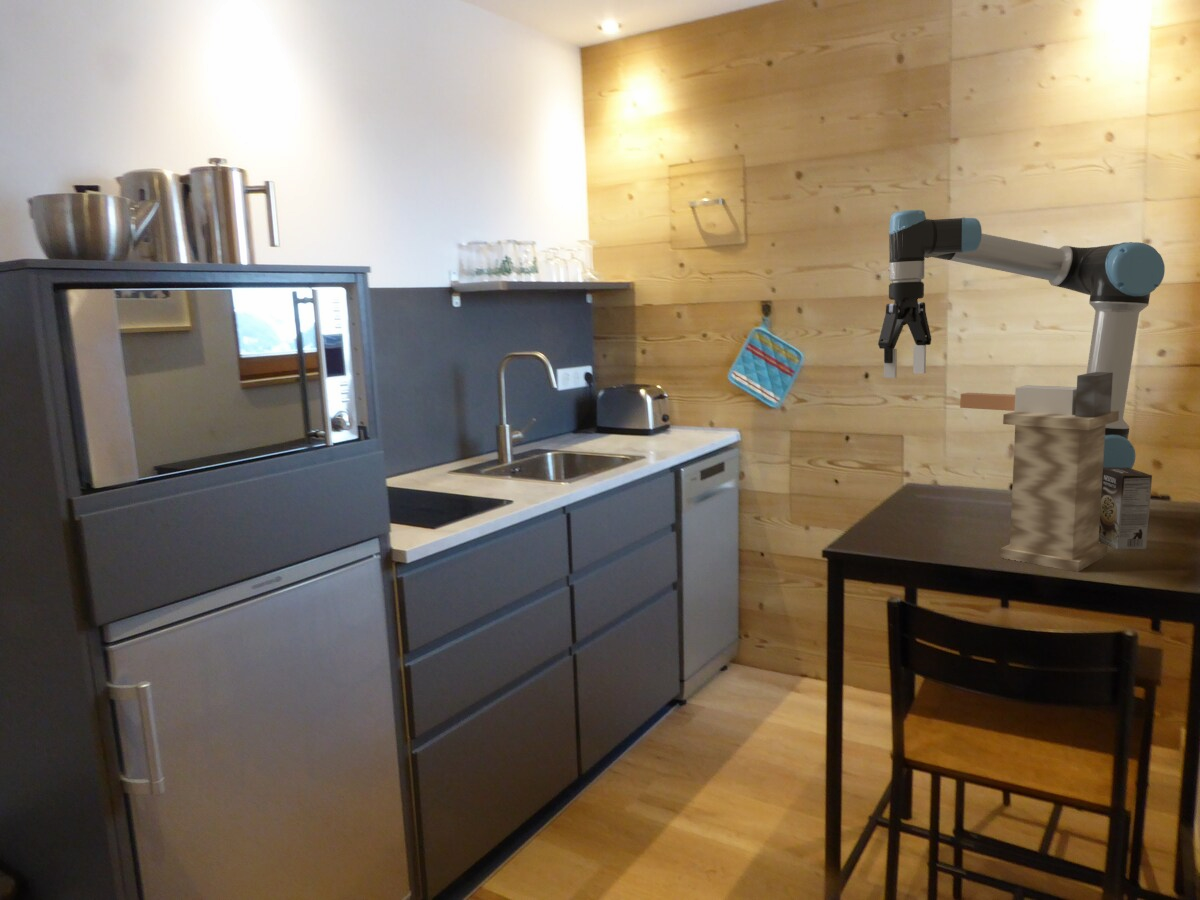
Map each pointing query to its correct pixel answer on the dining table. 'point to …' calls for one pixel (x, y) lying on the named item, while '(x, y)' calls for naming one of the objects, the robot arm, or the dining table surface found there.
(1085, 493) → the stand
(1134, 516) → the coffee box
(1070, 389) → the plug
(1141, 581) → the dining table surface
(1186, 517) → the dining table surface
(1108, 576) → the dining table surface
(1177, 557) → the dining table surface
